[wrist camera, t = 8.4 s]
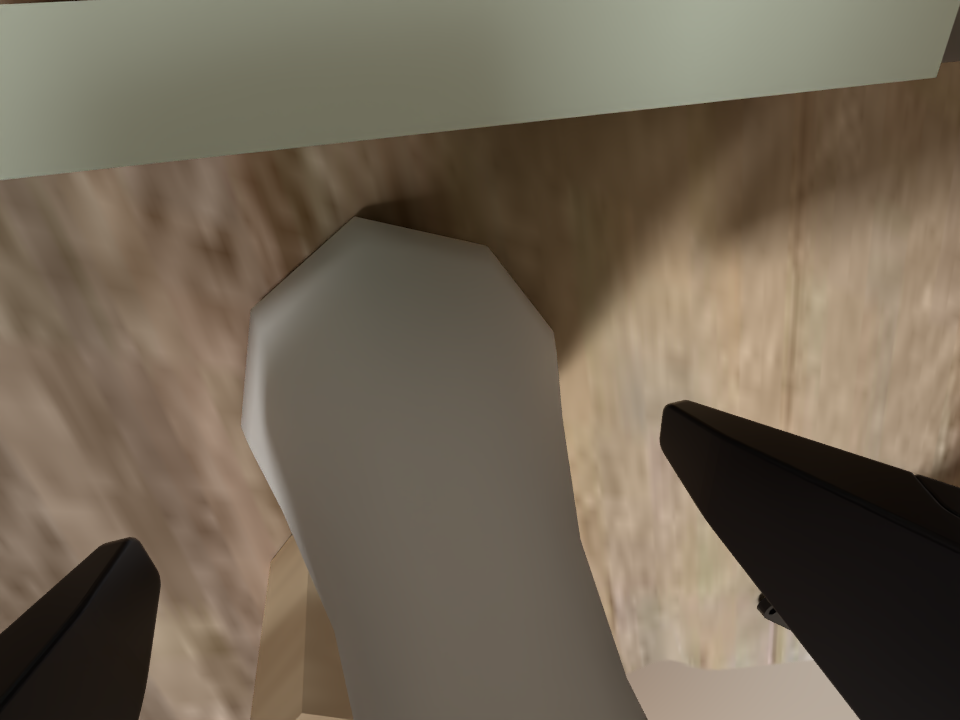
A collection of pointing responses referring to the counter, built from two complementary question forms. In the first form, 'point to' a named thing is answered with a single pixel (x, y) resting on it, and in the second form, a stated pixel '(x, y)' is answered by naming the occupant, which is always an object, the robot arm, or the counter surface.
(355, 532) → the flask
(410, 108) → the door
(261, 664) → the door frame
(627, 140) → the counter surface
